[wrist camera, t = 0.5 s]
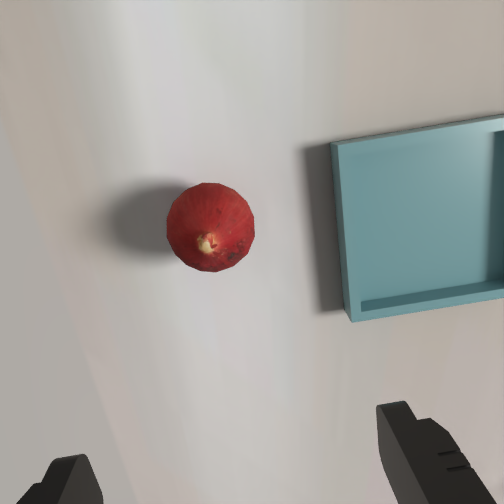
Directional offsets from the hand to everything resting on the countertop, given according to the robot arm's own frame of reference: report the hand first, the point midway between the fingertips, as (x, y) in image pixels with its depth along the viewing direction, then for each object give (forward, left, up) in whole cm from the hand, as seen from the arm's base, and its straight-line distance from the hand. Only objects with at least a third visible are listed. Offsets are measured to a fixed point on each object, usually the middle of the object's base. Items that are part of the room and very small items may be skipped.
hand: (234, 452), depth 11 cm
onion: (-2, -1, -21) cm, 21 cm away
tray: (+1, +15, -21) cm, 26 cm away
